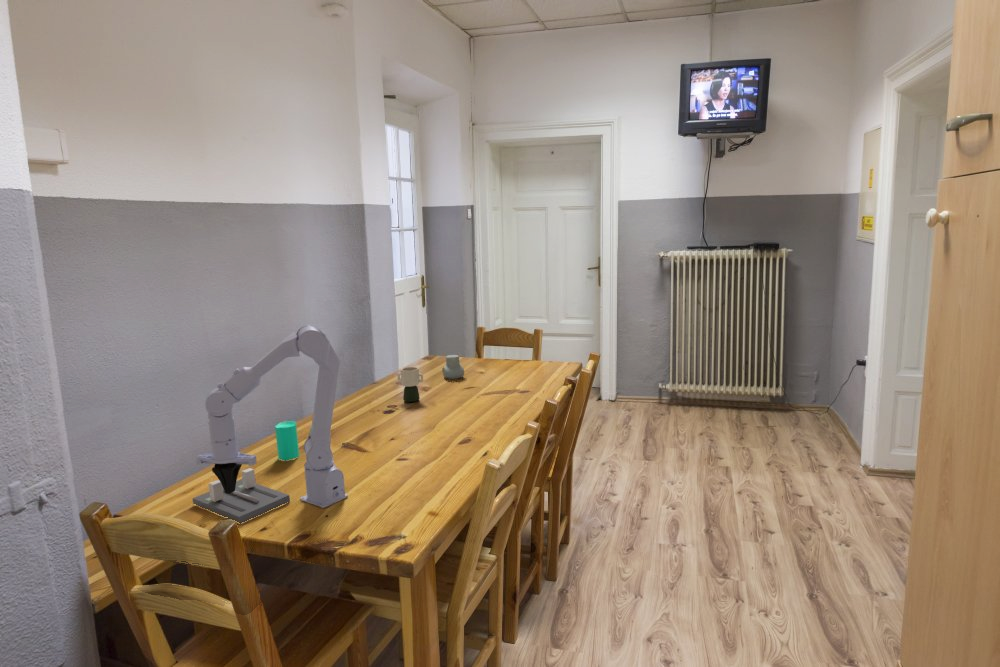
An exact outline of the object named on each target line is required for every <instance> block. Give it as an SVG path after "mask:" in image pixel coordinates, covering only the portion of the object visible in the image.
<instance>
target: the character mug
mask: <svg viewBox="0 0 1000 667" xmlns="http://www.w3.org/2000/svg"><path fill="white" fill-rule="evenodd" d="M396 376H397V381H398V382H401V386H403V387H404V389H403V401H404V402H406V403H411V402H412V403H413V402H417V401H419V400H420V392H419V387H418V386H419V384H420V383H423V382H424V374H423V373H420V368H419V367H417V366H406V367H402V368H401V369H400V372H398V373H397V375H396Z"/></svg>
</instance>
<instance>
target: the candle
mask: <svg viewBox="0 0 1000 667" xmlns="http://www.w3.org/2000/svg"><path fill="white" fill-rule="evenodd" d="M274 428H275V437H276V440H275V441H276V447H277V459H278V458H279V459H282V460H289V459H293V458H296V457H298V456H299V457H300V449H299V439H298V438H299V437H298V429H297V422H296V421H294V420H291V421H290V420H289V421H287V420H286V419H284V421H282V422H279V423H278V424H276V425H274ZM299 457H298V458H299ZM279 459H278V460H279Z"/></svg>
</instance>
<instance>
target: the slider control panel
mask: <svg viewBox="0 0 1000 667" xmlns="http://www.w3.org/2000/svg"><path fill="white" fill-rule="evenodd" d="M223 493H224V498H223V499H221V500H218V501H216V502H214V501H212V500H210V491H207V492H205V493H202V494H200V495H198V496H197V495H196V496H195V497H193V498H192V505H193V504H196V505H198V506H200V507H202V508H205V509H208V510H210V511H212V512H215V513H217V514H219V515H222V516H224V517H228V518H224V519H225V520H227V519H232V520H235V521H237V522H239V523H240V524H241V523H242V522H245V521H247V520H249V519H251V518H254V517H256V516H258V515H261V514H263V513H265V512H267V511H269V510H271V509H273V508H276V507H278V506H280V505H282V504H285V503H287V502H290V503H291V499H290V494H287V493H285V492H281V491H279V490H276V489H273V488H270V487H268V486H267V487H266V486H264V485H262V484H258V483H256V486H253V487H251V488H248V489H247V488H244V487H243V481H242V478H241V479H239V480H238V479H237V481H236V487H235V491H234V492H232V493H231V494H226V493H225V491H224V488H223ZM263 515H264V514H263ZM261 516H262V515H261ZM254 519H255V518H254ZM245 523H246V522H245ZM241 525H242V524H241Z"/></svg>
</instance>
